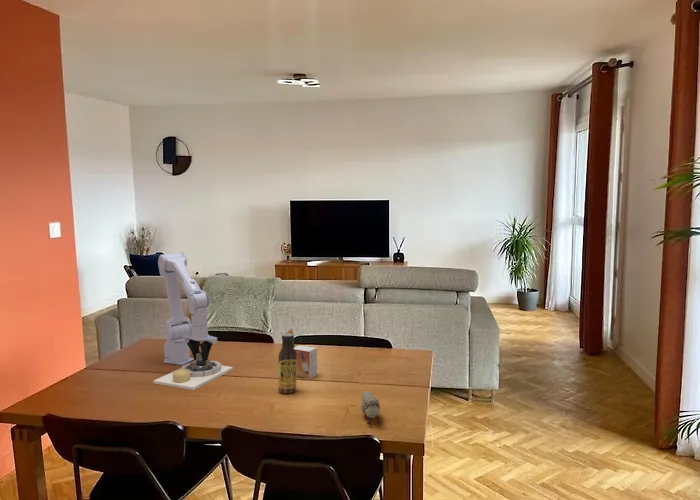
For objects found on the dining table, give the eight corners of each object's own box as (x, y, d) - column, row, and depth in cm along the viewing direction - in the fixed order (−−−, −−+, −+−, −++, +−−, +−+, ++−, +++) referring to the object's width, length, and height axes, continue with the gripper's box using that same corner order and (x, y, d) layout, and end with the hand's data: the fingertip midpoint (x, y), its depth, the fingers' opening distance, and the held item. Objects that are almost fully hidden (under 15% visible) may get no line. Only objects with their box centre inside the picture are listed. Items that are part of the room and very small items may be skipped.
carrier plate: (153, 383, 193) (152, 372, 193) (195, 364, 214) (195, 354, 214) (193, 390, 186) (193, 379, 186) (232, 369, 207) (232, 359, 207)
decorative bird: (375, 405, 172) (374, 382, 171) (383, 427, 156) (383, 402, 155) (358, 406, 171) (358, 383, 170) (365, 428, 155) (364, 403, 154)
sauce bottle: (279, 395, 181) (278, 337, 178) (277, 388, 187) (275, 333, 184) (298, 393, 182) (297, 336, 180) (295, 386, 188) (294, 331, 186)
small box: (291, 376, 199) (290, 348, 198) (299, 371, 204) (299, 344, 203) (309, 379, 196) (309, 351, 194) (317, 374, 201) (317, 347, 199)
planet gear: (182, 369, 201) (181, 354, 201) (199, 361, 210) (198, 346, 209) (203, 373, 198) (202, 357, 197) (219, 364, 206) (218, 349, 206)
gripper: (221, 324, 203) (223, 358, 204) (191, 320, 208) (192, 354, 210) (209, 328, 196) (211, 364, 198) (178, 325, 202) (180, 359, 203)
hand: (200, 359), depth 203 cm, fingers closed on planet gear, 4 cm apart
